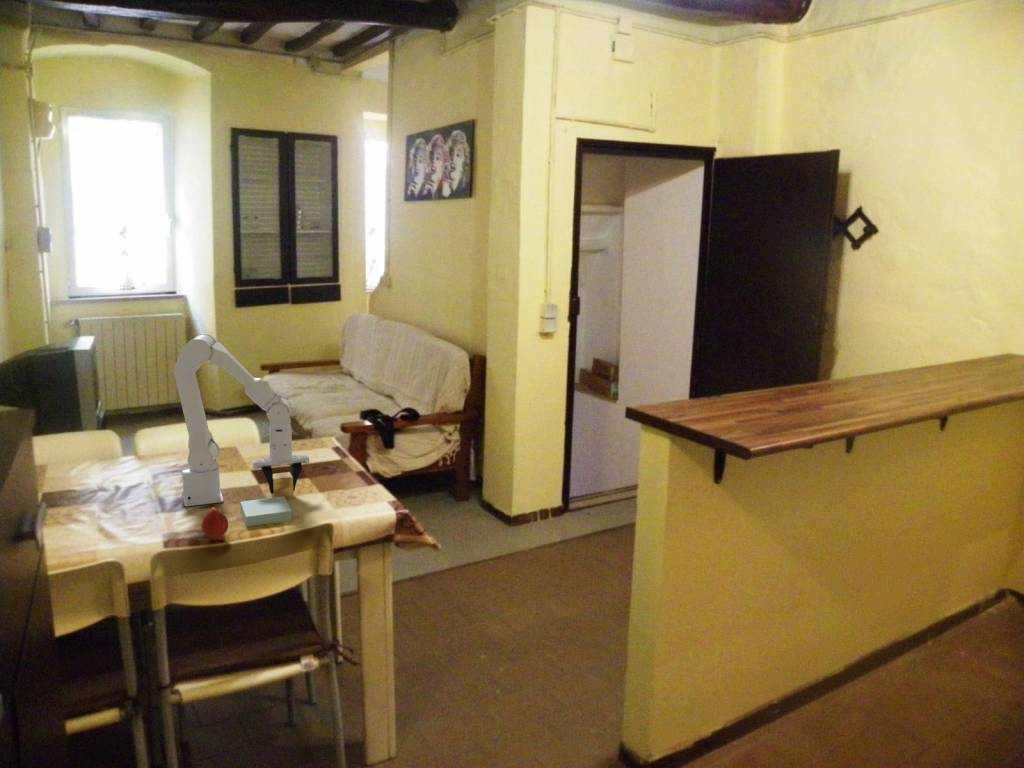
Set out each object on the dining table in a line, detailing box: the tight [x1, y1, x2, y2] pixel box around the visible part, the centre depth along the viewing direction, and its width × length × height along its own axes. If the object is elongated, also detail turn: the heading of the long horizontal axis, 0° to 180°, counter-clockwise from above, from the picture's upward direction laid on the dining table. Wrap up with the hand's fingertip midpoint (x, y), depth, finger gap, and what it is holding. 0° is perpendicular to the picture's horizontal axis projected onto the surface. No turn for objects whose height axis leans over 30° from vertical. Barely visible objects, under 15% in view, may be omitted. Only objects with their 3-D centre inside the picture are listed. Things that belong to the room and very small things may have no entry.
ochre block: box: [271, 471, 294, 500], centre depth 210 cm, size 5×5×6 cm
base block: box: [240, 496, 293, 527], centre depth 197 cm, size 11×11×3 cm
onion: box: [201, 506, 229, 541], centre depth 181 cm, size 6×6×8 cm
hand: (282, 491), depth 210 cm, fingers closed on ochre block, 5 cm apart
